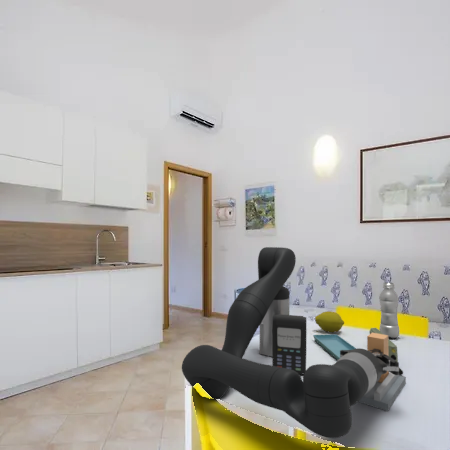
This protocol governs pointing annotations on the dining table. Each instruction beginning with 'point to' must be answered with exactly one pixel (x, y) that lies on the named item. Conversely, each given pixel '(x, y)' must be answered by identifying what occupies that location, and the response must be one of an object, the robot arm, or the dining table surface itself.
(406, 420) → the dining table surface
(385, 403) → the grey slotted base
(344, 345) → the rectangular tray
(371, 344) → the switch tab
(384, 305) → the plastic bottle
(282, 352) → the card reader
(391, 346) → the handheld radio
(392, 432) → the dining table surface
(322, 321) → the lemon
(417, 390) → the dining table surface
